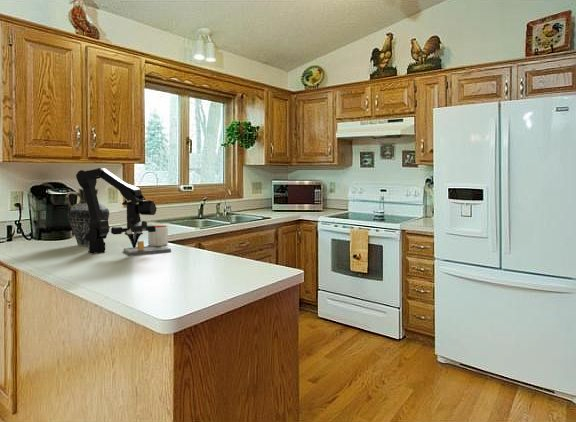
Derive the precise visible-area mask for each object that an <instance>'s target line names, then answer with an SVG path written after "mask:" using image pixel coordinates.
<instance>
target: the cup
mask: <svg viewBox="0 0 576 422" xmlns="http://www.w3.org/2000/svg"><path fill="white" fill-rule="evenodd" d="M154 226H155V228H156V232H148V231H147V237H148V238H147V239H148V240H147V241H148V242H147V245H148V246H156V237H161V238H162V245H164V246H167V245H168V244H169V227H168V225H154Z"/></svg>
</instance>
